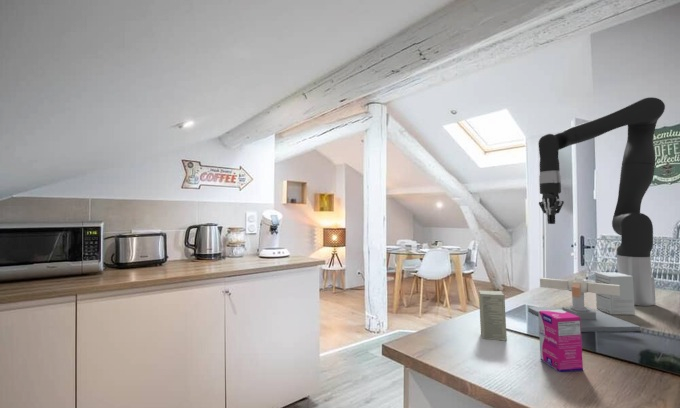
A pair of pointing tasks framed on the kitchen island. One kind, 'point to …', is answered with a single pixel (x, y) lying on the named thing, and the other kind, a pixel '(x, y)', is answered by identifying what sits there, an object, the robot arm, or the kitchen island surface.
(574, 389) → the kitchen island surface
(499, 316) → the skincare box
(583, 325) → the post board
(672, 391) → the kitchen island surface
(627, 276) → the supplement box
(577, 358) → the supplement box
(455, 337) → the kitchen island surface
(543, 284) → the star cap
